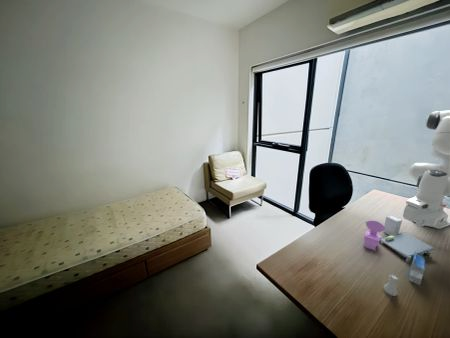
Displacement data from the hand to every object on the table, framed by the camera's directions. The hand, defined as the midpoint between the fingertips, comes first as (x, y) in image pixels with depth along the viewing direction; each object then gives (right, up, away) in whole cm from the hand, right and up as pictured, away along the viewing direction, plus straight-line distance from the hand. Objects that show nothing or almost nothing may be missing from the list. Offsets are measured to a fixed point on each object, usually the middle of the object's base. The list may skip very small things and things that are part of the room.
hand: (419, 226), depth 97 cm
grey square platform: (-4, -14, +4) cm, 16 cm away
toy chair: (-20, -14, +7) cm, 26 cm away
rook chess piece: (-33, -22, -19) cm, 44 cm away
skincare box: (-1, -11, +16) cm, 19 cm away
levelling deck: (-5, -11, +3) cm, 12 cm away
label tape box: (-16, -20, -13) cm, 28 cm away
